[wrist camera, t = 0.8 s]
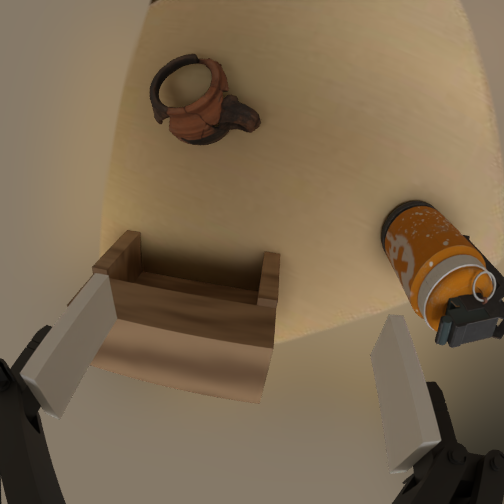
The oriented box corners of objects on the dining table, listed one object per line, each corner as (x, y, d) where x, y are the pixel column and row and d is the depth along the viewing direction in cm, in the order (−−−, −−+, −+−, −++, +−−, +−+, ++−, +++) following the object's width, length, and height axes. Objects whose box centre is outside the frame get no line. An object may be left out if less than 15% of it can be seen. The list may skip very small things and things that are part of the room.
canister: (380, 201, 37) (446, 299, 20) (456, 196, 35) (548, 279, 18) (379, 265, 41) (424, 380, 24) (450, 257, 39) (518, 356, 22)
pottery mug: (160, 142, 36) (127, 116, 28) (190, 77, 36) (166, 41, 28) (253, 168, 34) (237, 142, 26) (281, 95, 34) (274, 56, 26)
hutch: (127, 230, 42) (65, 297, 28) (280, 254, 42) (275, 341, 28) (131, 289, 47) (84, 363, 33) (268, 314, 47) (259, 403, 33)
